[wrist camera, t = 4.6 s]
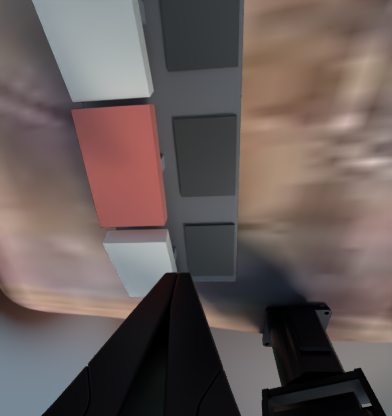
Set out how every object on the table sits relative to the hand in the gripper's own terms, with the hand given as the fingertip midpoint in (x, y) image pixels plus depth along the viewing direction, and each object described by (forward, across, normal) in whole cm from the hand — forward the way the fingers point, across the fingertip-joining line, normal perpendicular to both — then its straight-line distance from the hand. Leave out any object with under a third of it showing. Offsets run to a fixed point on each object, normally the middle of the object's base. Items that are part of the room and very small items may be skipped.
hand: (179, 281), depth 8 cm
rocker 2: (+6, +3, +4) cm, 8 cm away
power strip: (+11, +1, -2) cm, 11 cm away
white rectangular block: (+6, +3, -9) cm, 11 cm away
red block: (+6, +3, -2) cm, 7 cm away
